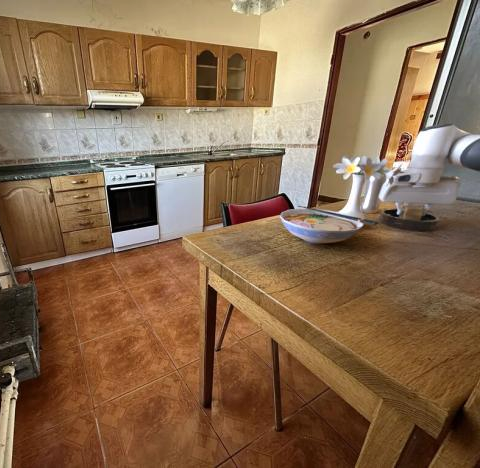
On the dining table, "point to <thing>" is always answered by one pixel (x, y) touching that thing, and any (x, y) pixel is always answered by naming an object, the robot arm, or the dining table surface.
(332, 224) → the ramen bowl
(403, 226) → the pan
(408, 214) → the block
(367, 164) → the flower vase
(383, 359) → the dining table surface
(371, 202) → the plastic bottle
